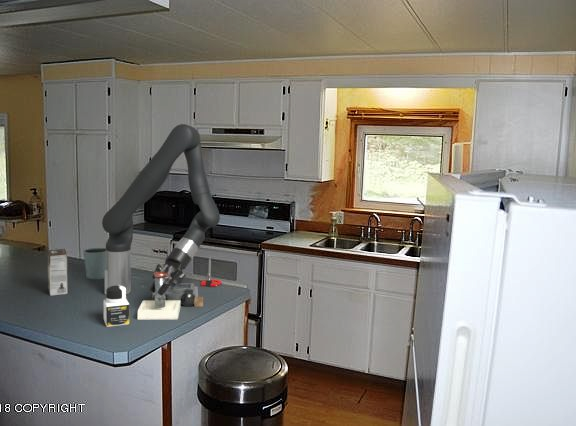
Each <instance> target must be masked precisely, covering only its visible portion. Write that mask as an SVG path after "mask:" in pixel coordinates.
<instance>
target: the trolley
mask: <svg viewBox="0 0 576 426" xmlns="http://www.w3.org/2000/svg"><path fill="white" fill-rule="evenodd" d="M198 288H199V287H198V286H195V283H187V282H186V283H182V282H181V283H178V284H177V285H176V286H174V287H172V286H171V287H168V289H167V290H166V292H165V300H181V305H182V306H183V307H187V308H188V307H189V308H190V307H192V306H193V305H194V306H195V297H199V291H198ZM151 296H152V297H151V300H155V292H154V293H152V295H151Z"/></svg>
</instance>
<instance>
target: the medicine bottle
mask: <svg viewBox="0 0 576 426" xmlns="http://www.w3.org/2000/svg"><path fill="white" fill-rule="evenodd" d="M105 295H106V299H103V320H104V324H105V326H106V328H109V327H117V326H126V325H129V324H130V302H129V301H128V299H127V294H126V288H125V287H123V286H118V285H117V286H111V287H109V288H107V289H106V294H105Z"/></svg>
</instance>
